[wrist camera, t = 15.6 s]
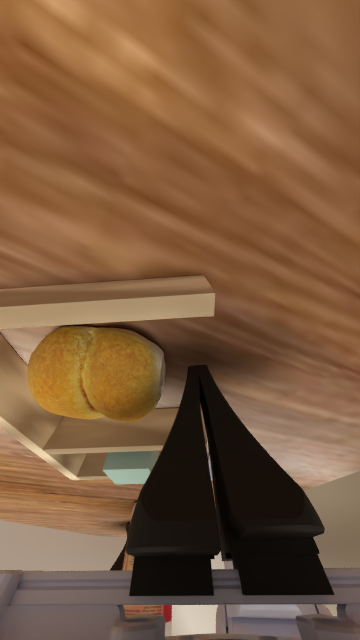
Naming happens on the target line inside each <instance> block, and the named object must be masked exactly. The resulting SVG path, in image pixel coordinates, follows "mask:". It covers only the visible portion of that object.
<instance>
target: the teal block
mask: <svg viewBox="0 0 360 640" xmlns="http://www.w3.org/2000/svg"><path fill="white" fill-rule="evenodd" d="M158 452H159V451H132V452H108V454H107V457H106V460H105V463H104V466H103V469H102V470H103V471H104V472H105V473H106V475H107V476H108V477H109V478H110V479H111V480H112V481H113V482H114V483H115V484H145V482H146V480H147V478H148V476H149V475H150V473H151V471H152V469H153V467H154V465H155V463H156V461H157V459H158Z"/></svg>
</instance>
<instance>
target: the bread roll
mask: <svg viewBox="0 0 360 640" xmlns="http://www.w3.org/2000/svg"><path fill="white" fill-rule="evenodd" d="M165 373H166V370H165V360H164V353H163V351H162V350H161V349H160V348H159V347H158V346H157V345H155V344H154V343H153V342H151V341H149V340H147V339H146V338H145V337H143V336H141V335H139V334H137V333H136V332H134V331H131V330H127V329H119V328H103V327H102V328H93V327H87V326H66V327H61V328H58V329H56V330H54V331H53V332H51V333H49V334H48V335H47V336H46V337H45V338H44V339H43V340H42V341H41V342H40V344H39V345H38V346H37V348H36V349H35V350H34V352H33V353H32V354H31V357H30V360H29V364H28V371H27V377H28V385H29V390H30V392H31V394H32V396H33V398H34V399H35V400H36V401H37V403H38V404H39V405H40V406H41V407H42V408H44V409H45V410H47V411H49V412H51V413H54V414H58V415H62V416H67V417H73V418H80V419H97V418H102V417H104V416H106V417H108V418H110V419H112V420H115V421H121V422H135V421H138V420H140V419H142V418H144V417H145V416H147V415H148V414H149V413H151V412H152V411H153V409H154V408H155V406H156V405H157V402H158V401H159V399H160V397H161V391H162V389H163V388H164V385H165Z"/></svg>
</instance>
